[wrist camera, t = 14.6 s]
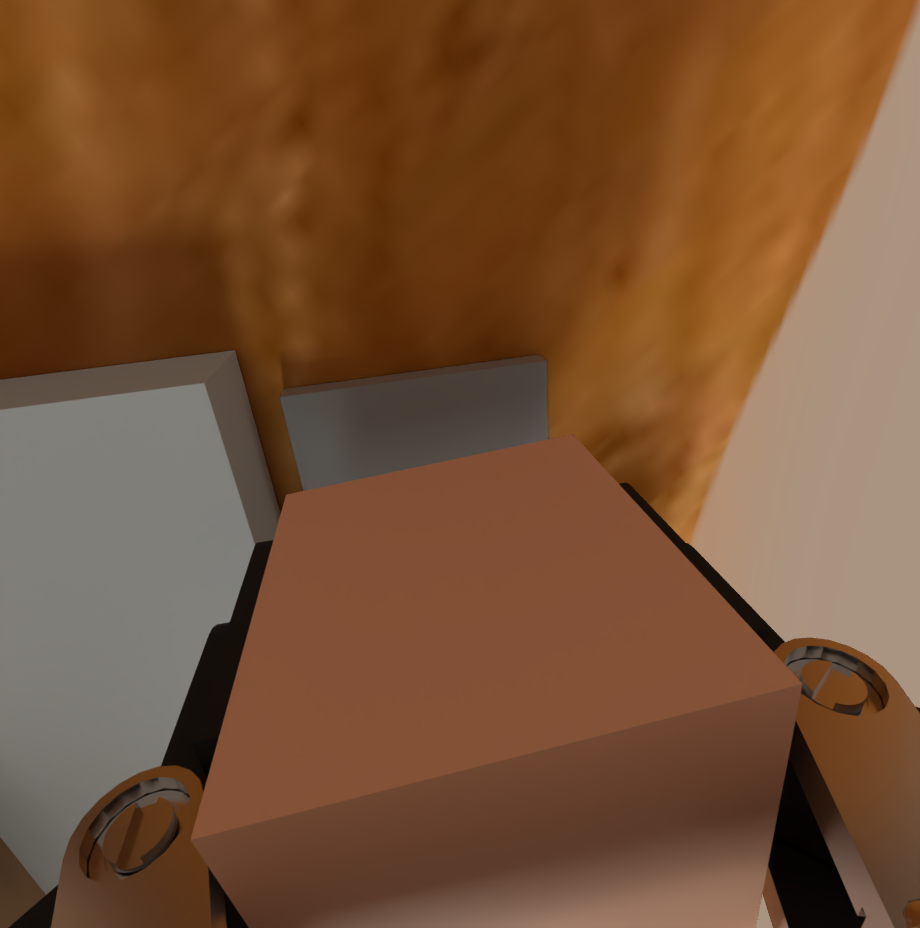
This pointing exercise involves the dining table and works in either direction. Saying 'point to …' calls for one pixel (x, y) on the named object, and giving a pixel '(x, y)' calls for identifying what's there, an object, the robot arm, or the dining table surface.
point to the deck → (113, 574)
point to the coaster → (414, 418)
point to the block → (494, 713)
